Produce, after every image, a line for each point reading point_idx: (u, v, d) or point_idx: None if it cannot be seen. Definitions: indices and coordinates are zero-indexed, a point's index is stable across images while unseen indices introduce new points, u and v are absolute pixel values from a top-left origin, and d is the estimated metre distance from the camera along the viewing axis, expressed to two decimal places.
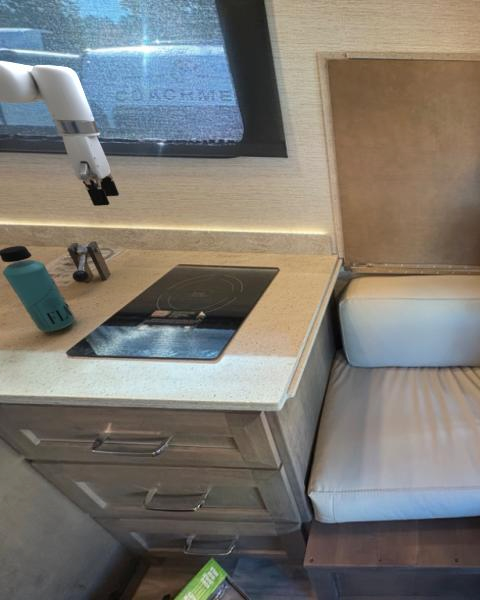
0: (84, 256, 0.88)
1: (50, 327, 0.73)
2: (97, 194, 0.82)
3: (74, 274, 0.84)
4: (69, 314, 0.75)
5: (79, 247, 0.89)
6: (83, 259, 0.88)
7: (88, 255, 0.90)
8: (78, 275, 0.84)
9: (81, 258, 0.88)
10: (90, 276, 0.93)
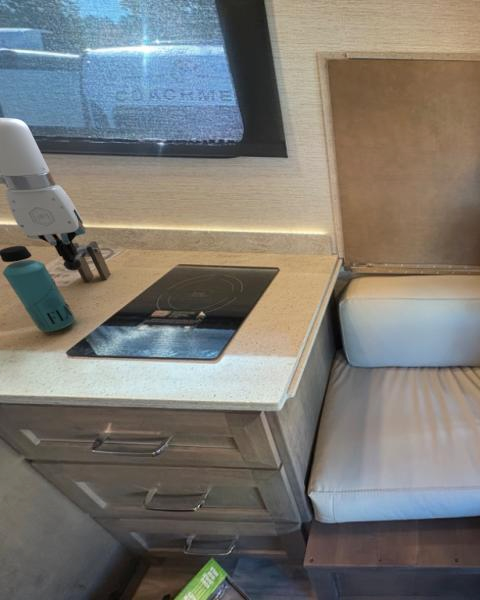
0: (82, 252, 0.88)
1: (50, 327, 0.73)
2: (73, 246, 0.81)
3: None
4: (69, 314, 0.75)
5: (80, 246, 0.89)
6: (80, 254, 0.87)
7: (87, 253, 0.89)
8: (70, 260, 0.82)
9: (78, 253, 0.87)
10: (90, 276, 0.93)
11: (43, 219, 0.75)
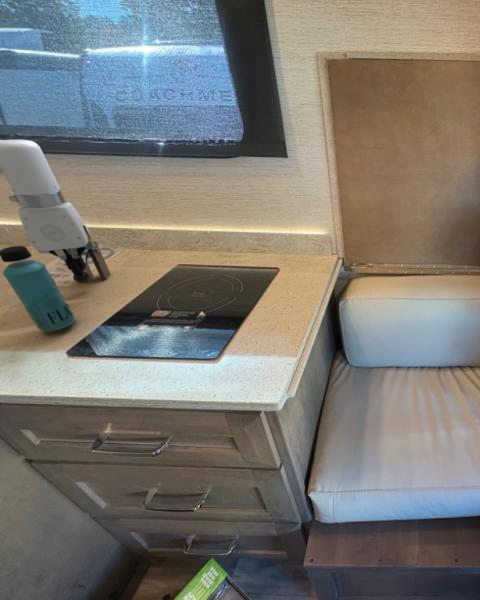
0: (84, 256, 0.89)
1: (50, 327, 0.73)
2: (82, 260, 0.84)
3: (75, 275, 0.84)
4: (69, 314, 0.75)
5: None
6: (83, 259, 0.88)
7: (88, 255, 0.90)
8: (79, 277, 0.84)
9: None
10: (90, 276, 0.93)
11: (54, 235, 0.77)
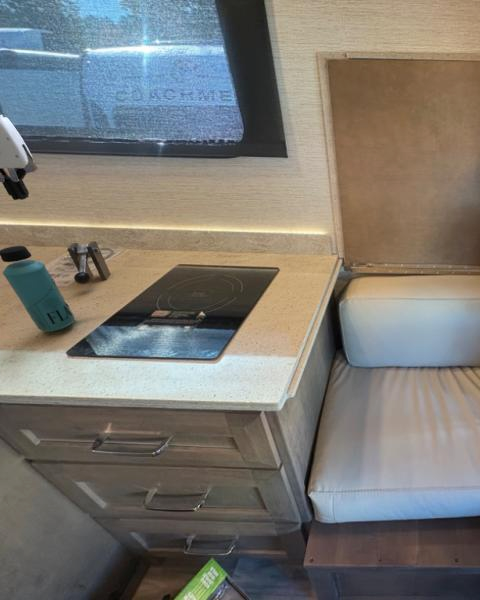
0: (84, 257, 0.89)
1: (50, 327, 0.73)
2: (23, 185, 0.78)
3: (76, 276, 0.85)
4: (69, 314, 0.75)
5: (79, 247, 0.89)
6: (84, 260, 0.88)
7: (88, 255, 0.90)
8: (80, 278, 0.85)
9: (81, 259, 0.88)
10: (90, 276, 0.93)
11: None
